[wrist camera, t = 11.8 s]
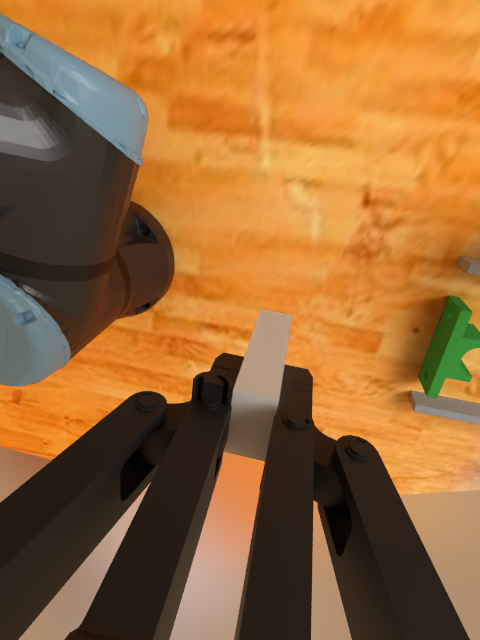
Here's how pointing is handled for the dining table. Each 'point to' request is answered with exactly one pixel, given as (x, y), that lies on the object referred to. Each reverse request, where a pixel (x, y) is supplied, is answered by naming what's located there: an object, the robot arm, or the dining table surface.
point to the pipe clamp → (449, 347)
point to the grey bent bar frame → (443, 404)
